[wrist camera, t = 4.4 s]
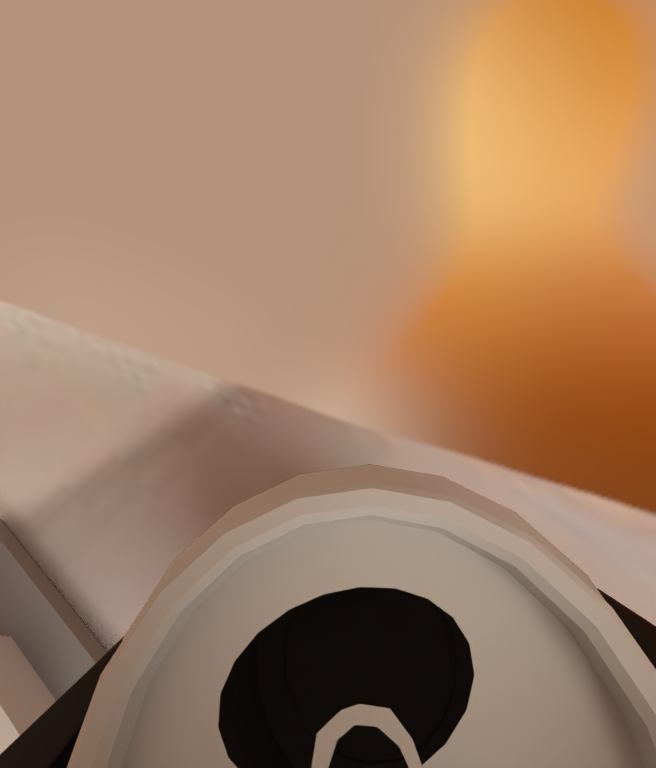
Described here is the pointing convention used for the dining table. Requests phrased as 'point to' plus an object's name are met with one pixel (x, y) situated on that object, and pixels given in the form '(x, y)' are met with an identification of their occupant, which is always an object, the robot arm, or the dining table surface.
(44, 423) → the dining table surface
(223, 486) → the dining table surface
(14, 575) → the housing
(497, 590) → the can
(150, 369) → the dining table surface
